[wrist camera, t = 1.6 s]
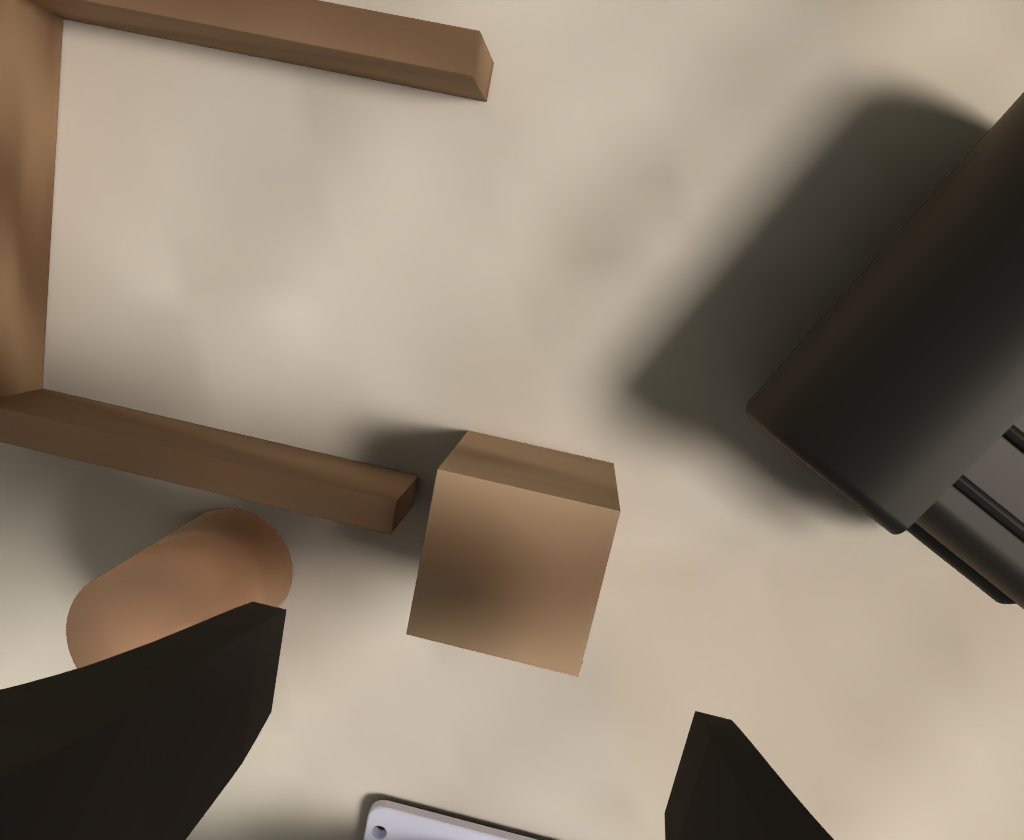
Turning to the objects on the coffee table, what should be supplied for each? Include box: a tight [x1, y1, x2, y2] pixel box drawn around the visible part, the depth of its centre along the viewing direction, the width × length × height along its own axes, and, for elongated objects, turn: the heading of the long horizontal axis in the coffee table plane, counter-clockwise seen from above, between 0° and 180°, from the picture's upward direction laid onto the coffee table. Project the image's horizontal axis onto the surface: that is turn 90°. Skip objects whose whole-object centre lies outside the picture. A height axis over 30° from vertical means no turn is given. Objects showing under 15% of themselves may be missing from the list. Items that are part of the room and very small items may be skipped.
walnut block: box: [406, 431, 620, 677], centre depth 19 cm, size 4×4×4 cm
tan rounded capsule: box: [66, 508, 292, 669], centre depth 20 cm, size 4×4×5 cm
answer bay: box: [0, 0, 494, 534], centre depth 20 cm, size 13×14×2 cm
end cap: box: [746, 92, 1024, 609], centre depth 16 cm, size 10×7×7 cm
